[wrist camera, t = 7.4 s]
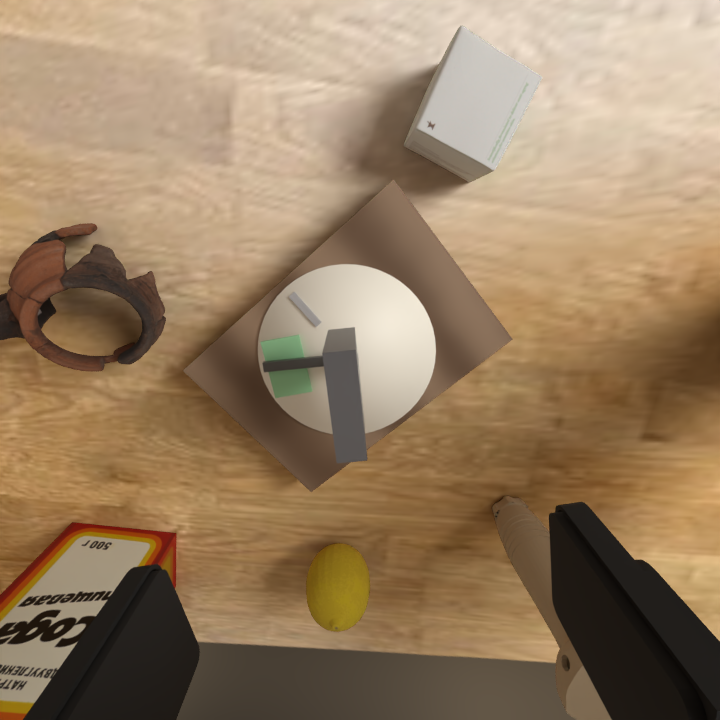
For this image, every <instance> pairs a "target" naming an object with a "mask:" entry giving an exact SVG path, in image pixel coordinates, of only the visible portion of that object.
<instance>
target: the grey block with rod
mask: <svg viewBox="0 0 720 720" xmlns="http://www.w3.org/2000/svg"><path fill="white" fill-rule="evenodd" d="M262 364H263V370H264V372H273V371H283V370H293V369H303V368H313V367H323V366H324V371H325V378H326V386H327V393H328V401H329V409H330V416H331V424H332V431H333V439H334V447H335V454H336V462H337V463H346V462H356V461H366V460H367V449H366V436H365V423H364V412H363V403H362V393H361V383H360V373H359V358H358V353H357V344H356V334H355V327H351V328H341V329H331V330H328V332H327V336H326V340H325V344H324V348H323V352H322V356H312V357H302V358H292V359H282V360H272V361H263V363H262Z"/></svg>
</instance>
